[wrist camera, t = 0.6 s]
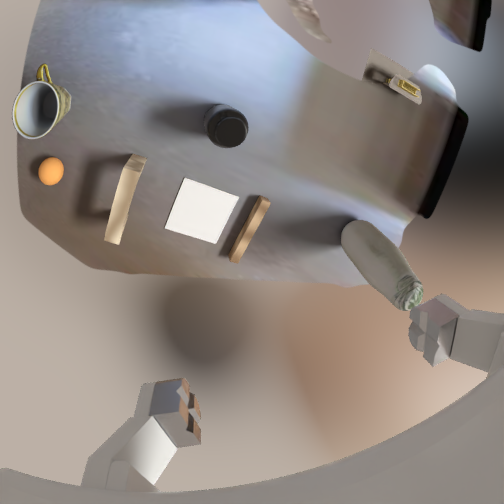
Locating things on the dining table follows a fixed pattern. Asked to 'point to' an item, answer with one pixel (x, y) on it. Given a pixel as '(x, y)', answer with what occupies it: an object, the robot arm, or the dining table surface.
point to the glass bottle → (381, 264)
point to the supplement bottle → (225, 126)
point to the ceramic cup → (39, 106)
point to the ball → (51, 171)
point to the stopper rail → (249, 229)
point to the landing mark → (200, 211)
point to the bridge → (124, 198)
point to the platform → (390, 75)
